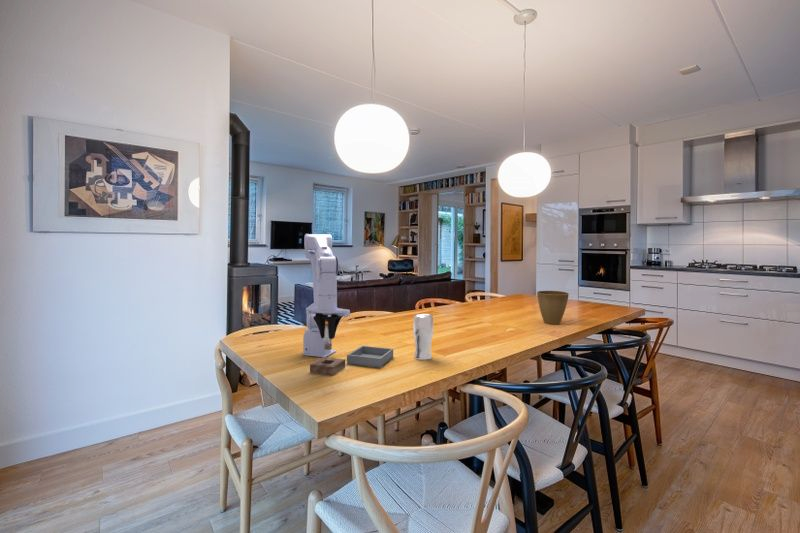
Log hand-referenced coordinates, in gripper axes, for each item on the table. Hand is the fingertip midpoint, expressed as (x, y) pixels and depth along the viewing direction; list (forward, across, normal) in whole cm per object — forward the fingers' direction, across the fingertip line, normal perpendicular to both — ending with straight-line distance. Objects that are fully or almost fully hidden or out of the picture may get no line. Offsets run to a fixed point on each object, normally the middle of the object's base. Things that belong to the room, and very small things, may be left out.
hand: (327, 337), depth 113 cm
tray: (+10, +9, +13) cm, 19 cm away
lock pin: (+3, 0, 0) cm, 3 cm away
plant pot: (+10, +72, +100) cm, 124 cm away
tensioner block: (+10, 0, 0) cm, 10 cm away
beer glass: (+10, +25, +22) cm, 35 cm away
